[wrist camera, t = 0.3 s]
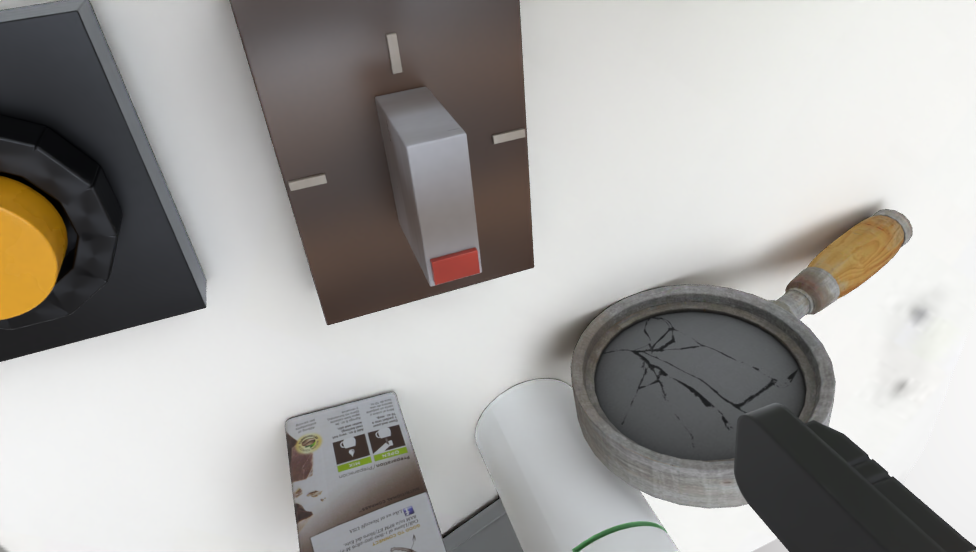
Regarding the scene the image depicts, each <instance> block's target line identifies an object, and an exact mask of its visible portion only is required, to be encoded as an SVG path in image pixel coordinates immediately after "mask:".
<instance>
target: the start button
mask: <svg viewBox="0 0 976 552" xmlns="http://www.w3.org/2000/svg"><path fill="white" fill-rule="evenodd" d="M67 245H68V236H67V230H66V227H65V224H64V222H63V219H62V217H61V216H60V214H59V213H58V211H57V210H56V209H55V207H54V206H53V205H52V204H51V203H50V202H49V201H48V200H47V199H46V198H45V197H44V196H42V195H41V194H40V193H38V192H37V191H36V190H34V189H32V188H31V187H29V186H27V185H25V184H23V183H21V182H19V181H16V180H13V179H10V178H8V177H4V176H0V320H3V319H8V318H12V317H15V316H19V315H21V314H23V313H26V312H28V311H30V310H31V309H33V308H35V307H36V306H38V305H39V304H40V303H42V302H43V301H44V300H45V299H46V298H47V297H48V295H49V294H50V292H51V291H52V290H53V287H54V285H55V283H56V280H57V277H58V274H59V272H60V269H61V266H62V263H63V260H64V257H65V254H66V250H67Z"/></svg>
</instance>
